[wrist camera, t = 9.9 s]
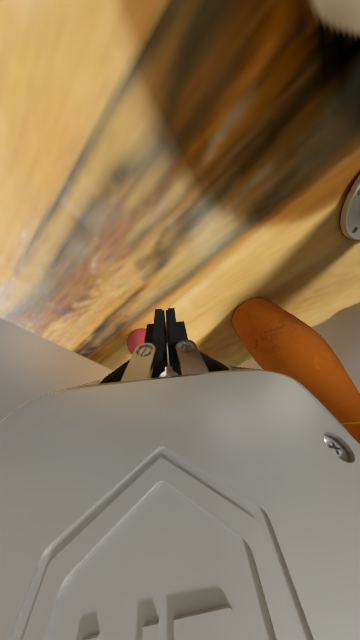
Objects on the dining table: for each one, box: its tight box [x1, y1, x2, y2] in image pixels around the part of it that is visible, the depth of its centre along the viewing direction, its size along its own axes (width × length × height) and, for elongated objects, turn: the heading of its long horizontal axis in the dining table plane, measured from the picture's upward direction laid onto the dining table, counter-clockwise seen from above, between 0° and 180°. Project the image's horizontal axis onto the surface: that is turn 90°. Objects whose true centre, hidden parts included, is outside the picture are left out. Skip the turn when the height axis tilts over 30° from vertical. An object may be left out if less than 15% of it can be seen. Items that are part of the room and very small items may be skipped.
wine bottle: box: [232, 298, 360, 444], centre depth 19 cm, size 10×10×30 cm
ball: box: [127, 328, 146, 354], centre depth 29 cm, size 6×6×6 cm
